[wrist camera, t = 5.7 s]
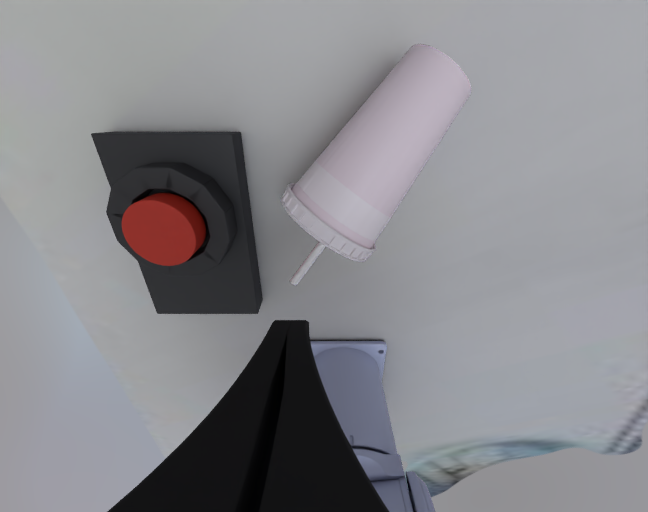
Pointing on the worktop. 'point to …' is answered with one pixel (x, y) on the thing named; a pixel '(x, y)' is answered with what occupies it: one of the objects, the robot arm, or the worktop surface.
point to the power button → (164, 228)
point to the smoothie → (377, 156)
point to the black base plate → (210, 200)
